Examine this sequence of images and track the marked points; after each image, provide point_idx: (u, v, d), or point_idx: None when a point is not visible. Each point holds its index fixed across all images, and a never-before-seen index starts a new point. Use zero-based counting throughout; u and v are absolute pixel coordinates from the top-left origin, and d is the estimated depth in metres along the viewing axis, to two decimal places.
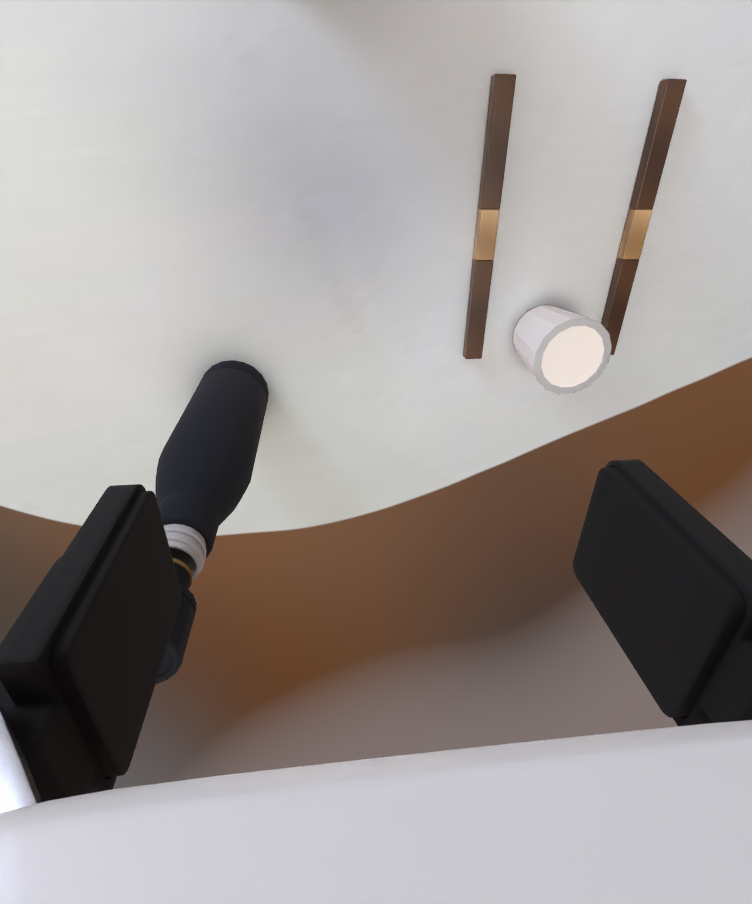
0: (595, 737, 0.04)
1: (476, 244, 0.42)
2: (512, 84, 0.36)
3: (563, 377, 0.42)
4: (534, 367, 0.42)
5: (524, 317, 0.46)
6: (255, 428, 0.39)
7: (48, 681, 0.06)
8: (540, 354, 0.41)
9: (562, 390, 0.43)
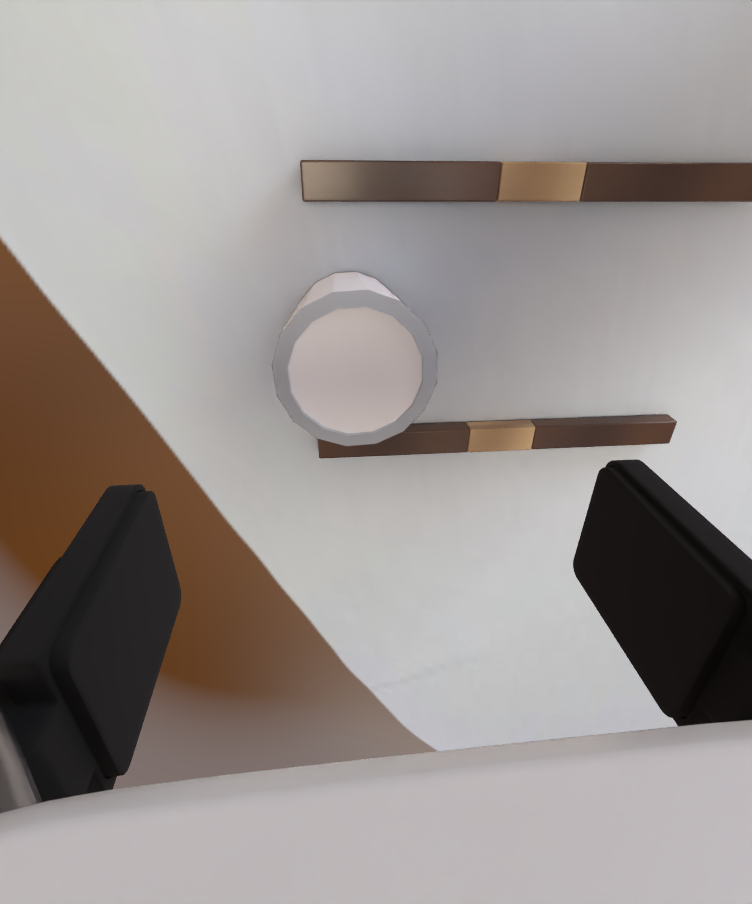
0: (595, 737, 0.04)
1: None
2: (747, 196, 0.23)
3: (311, 365, 0.20)
4: (333, 294, 0.18)
5: None
6: None
7: (48, 681, 0.06)
8: (365, 301, 0.18)
9: (281, 370, 0.19)
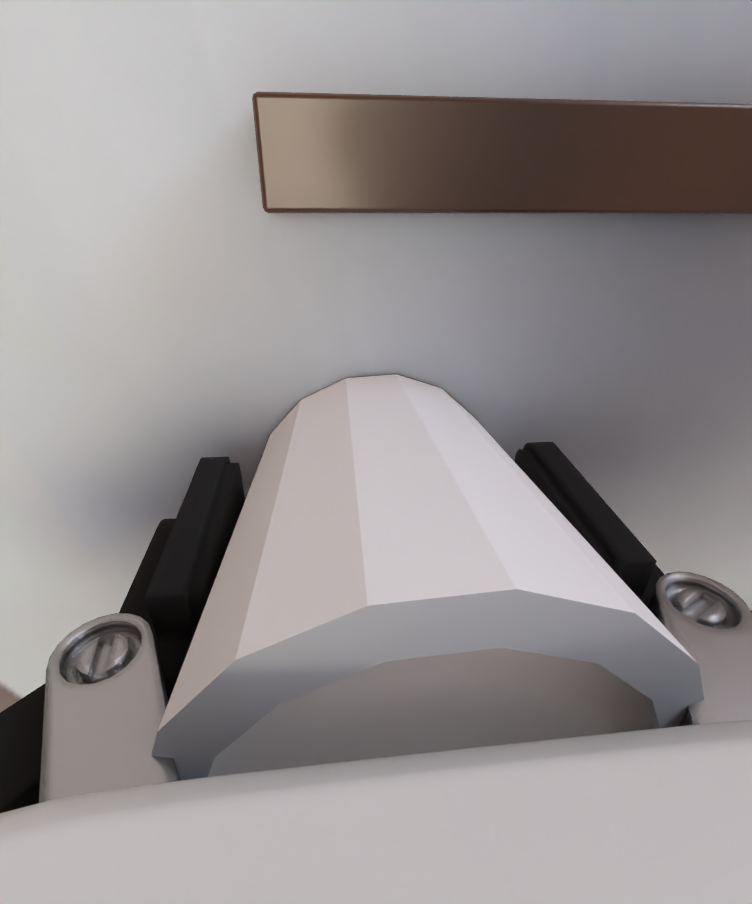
0: (595, 737, 0.04)
1: None
2: None
3: None
4: (370, 610, 0.04)
5: (462, 408, 0.11)
6: None
7: (187, 615, 0.07)
8: (500, 630, 0.04)
9: None
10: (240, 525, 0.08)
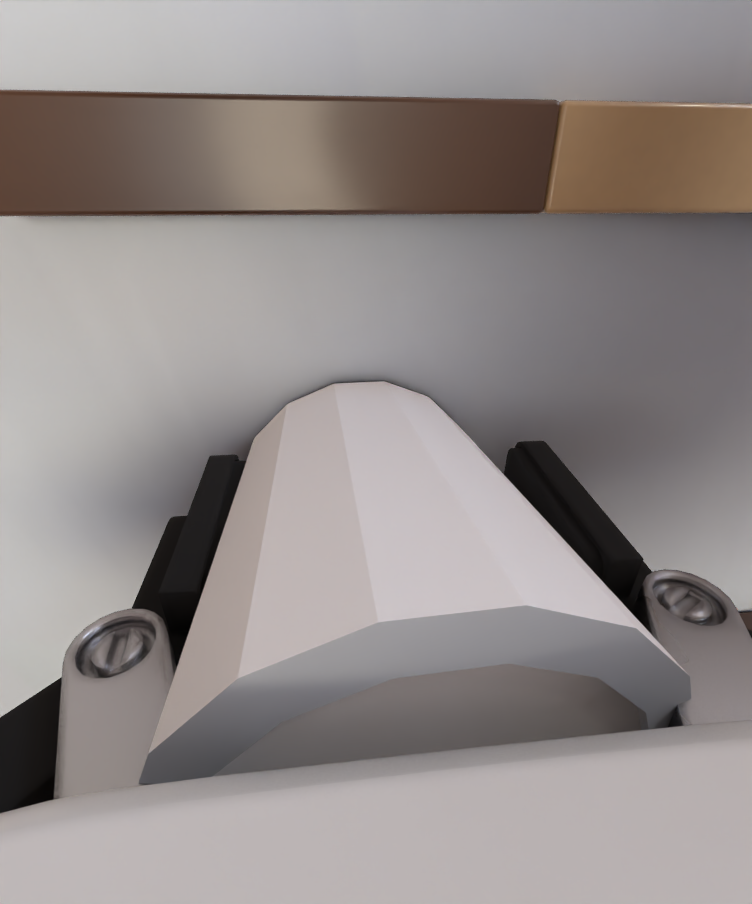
0: (595, 737, 0.04)
1: (630, 103, 0.08)
2: None
3: None
4: (380, 627, 0.04)
5: (449, 417, 0.11)
6: None
7: None
8: (508, 647, 0.04)
9: None
10: (228, 533, 0.07)
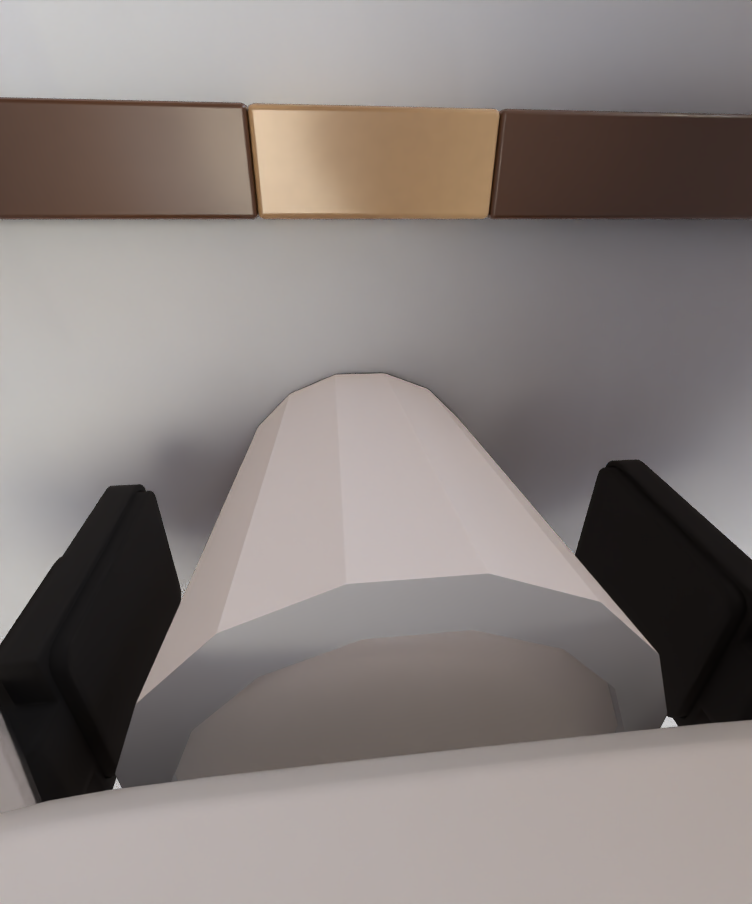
0: (595, 737, 0.04)
1: (328, 106, 0.08)
2: None
3: (257, 765, 0.06)
4: (349, 589, 0.04)
5: (447, 409, 0.11)
6: None
7: (48, 681, 0.06)
8: (472, 613, 0.05)
9: None
10: (225, 512, 0.08)
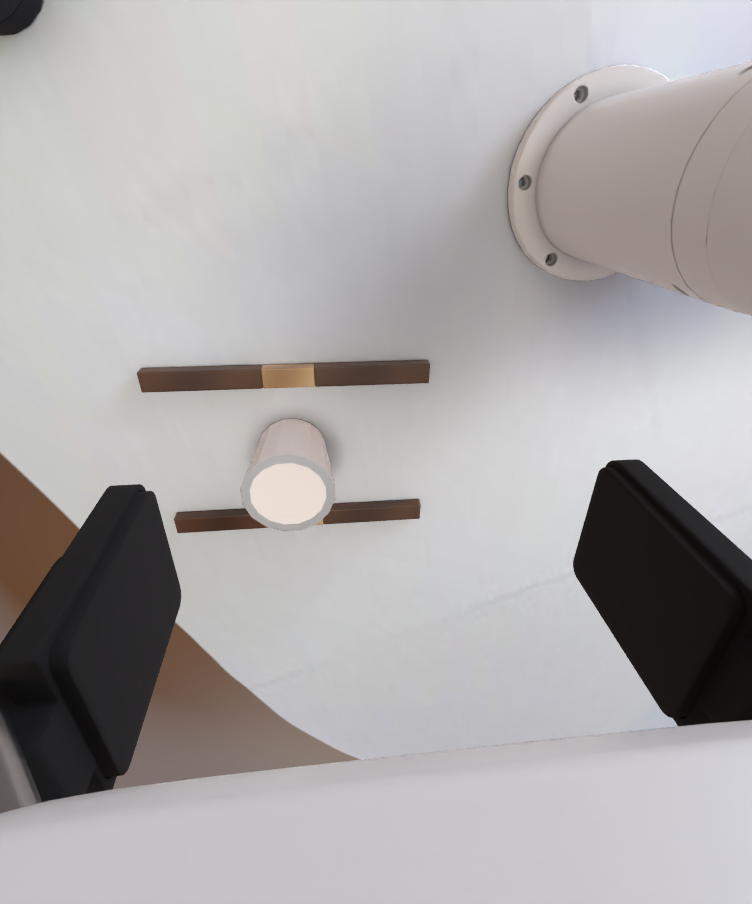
0: (595, 737, 0.04)
1: (277, 367, 0.37)
2: (421, 380, 0.38)
3: (262, 490, 0.35)
4: (275, 456, 0.34)
5: (313, 428, 0.40)
6: None
7: (48, 681, 0.06)
8: (292, 460, 0.34)
9: (245, 492, 0.35)
10: (256, 451, 0.37)
